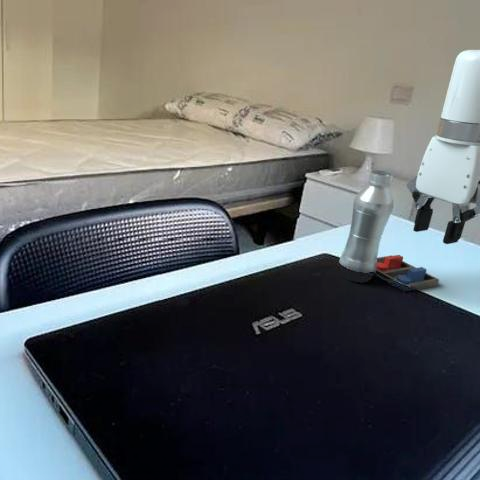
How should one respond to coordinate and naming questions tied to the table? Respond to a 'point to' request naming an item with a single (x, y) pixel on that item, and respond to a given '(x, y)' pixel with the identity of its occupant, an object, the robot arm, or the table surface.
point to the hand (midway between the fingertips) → (435, 235)
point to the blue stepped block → (412, 276)
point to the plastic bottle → (368, 223)
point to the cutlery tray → (428, 282)
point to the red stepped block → (390, 263)
